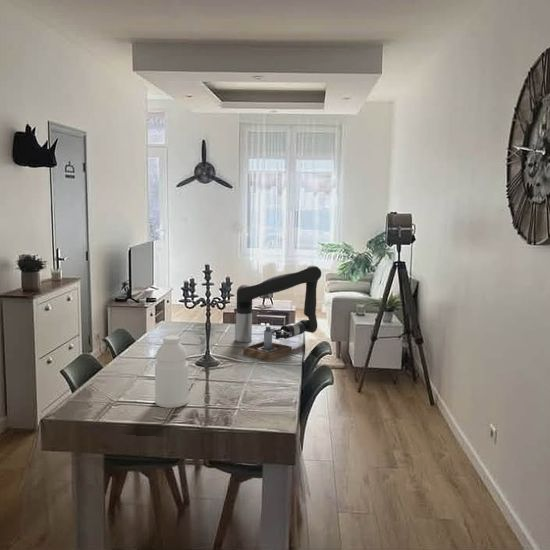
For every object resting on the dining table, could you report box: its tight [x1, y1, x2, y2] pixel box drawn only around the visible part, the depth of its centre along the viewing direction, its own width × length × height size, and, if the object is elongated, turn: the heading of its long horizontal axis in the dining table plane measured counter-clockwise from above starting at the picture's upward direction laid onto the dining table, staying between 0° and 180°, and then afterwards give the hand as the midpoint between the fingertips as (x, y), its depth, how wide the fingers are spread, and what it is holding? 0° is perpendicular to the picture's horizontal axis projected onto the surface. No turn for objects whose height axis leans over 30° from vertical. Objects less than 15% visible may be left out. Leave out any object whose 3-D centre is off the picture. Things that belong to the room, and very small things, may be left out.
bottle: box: [154, 334, 190, 409], centre depth 225 cm, size 14×14×28 cm
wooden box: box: [242, 340, 293, 362], centre depth 298 cm, size 19×19×4 cm
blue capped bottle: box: [263, 326, 273, 351], centre depth 297 cm, size 4×4×14 cm
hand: (270, 335), depth 298 cm, fingers open, 8 cm apart
